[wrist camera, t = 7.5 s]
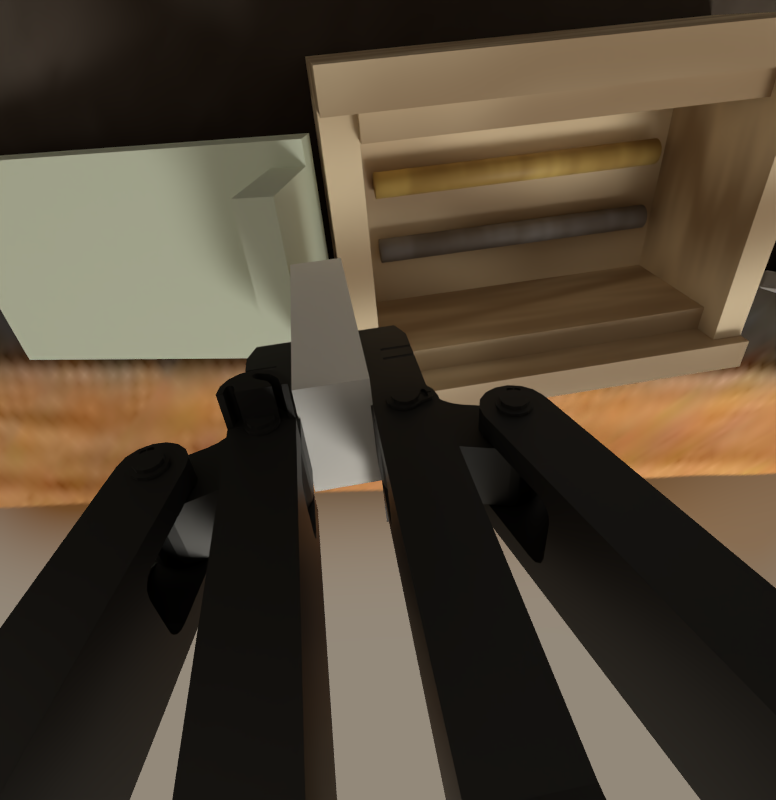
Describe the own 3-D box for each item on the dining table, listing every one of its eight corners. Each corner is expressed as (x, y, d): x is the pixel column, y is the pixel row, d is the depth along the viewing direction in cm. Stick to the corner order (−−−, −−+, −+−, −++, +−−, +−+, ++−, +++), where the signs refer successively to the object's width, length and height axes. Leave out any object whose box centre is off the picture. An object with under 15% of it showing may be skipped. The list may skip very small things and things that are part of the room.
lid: (-60, 160, 19) (-184, 193, 15) (308, 133, 17) (266, 164, 13) (44, 347, 23) (-31, 407, 20) (342, 344, 21) (317, 410, 18)
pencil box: (305, 56, 19) (312, 65, 13) (712, 14, 20) (878, 7, 14) (346, 341, 26) (363, 427, 20) (645, 297, 27) (739, 366, 21)
